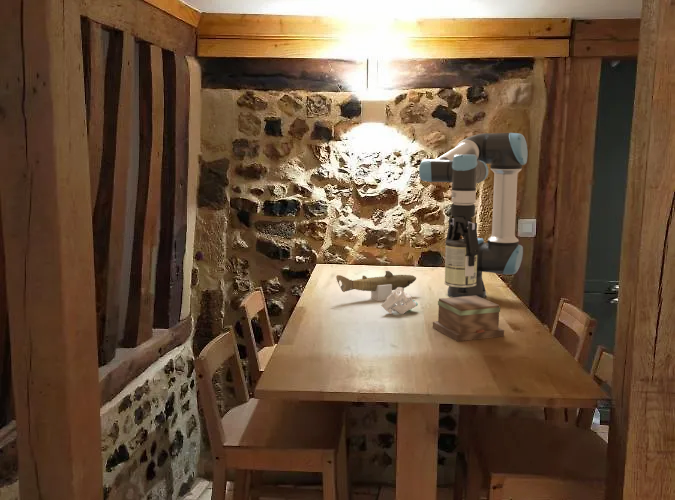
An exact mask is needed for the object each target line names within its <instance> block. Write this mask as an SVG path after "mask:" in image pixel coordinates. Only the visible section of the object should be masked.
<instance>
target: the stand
mask: <svg viewBox="0 0 675 500" xmlns="http://www.w3.org/2000/svg"><path fill="white" fill-rule="evenodd" d="M437 305H438V316H437V318H438V320H437V321H436V320H435V321H434V320H433V321H432V328H433V329H435V330H437V332H440V333H442V334H444V335H445V336H447V337H449V338H451V339H452V340H454V341H455V340H456V341H455V342H463V341H464V340H465V341H472V339H474V340H481V338H483V339H489V338H499V337H505V330H504V328H501V327H500V326H499V325H500V312H501V307H500V305H499V304H497V303H494V302H492V301H490V300H488V299H485V298H481V297H478V296H476V295H475V296H464V297H442V298H438V301H437Z"/></svg>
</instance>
